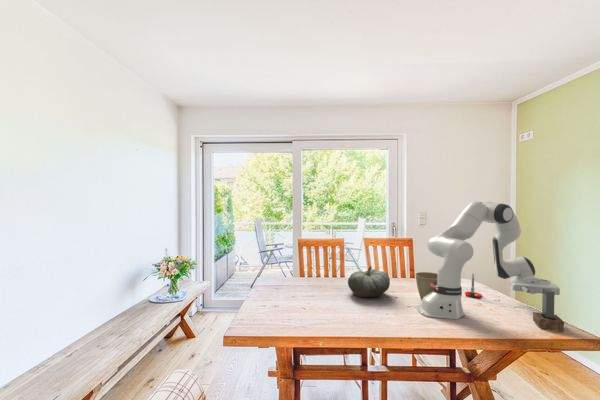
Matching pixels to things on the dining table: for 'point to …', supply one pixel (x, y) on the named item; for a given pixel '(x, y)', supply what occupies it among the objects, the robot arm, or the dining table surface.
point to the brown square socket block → (548, 322)
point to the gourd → (369, 283)
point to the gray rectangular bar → (548, 304)
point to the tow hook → (472, 293)
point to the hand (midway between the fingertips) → (539, 292)
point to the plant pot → (425, 283)
